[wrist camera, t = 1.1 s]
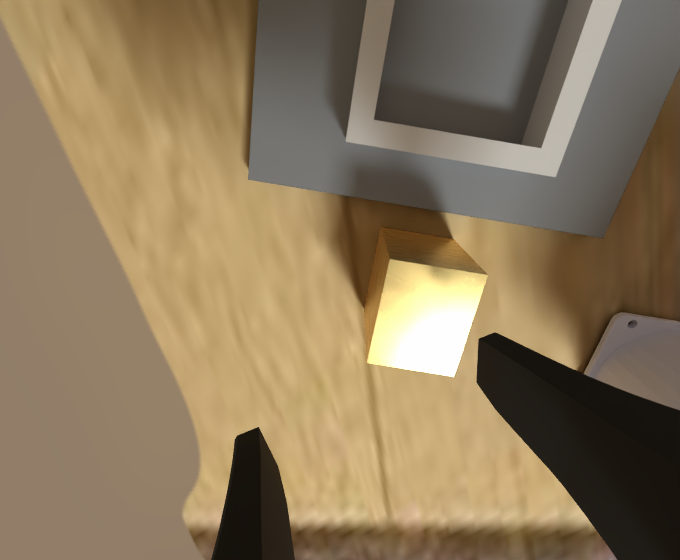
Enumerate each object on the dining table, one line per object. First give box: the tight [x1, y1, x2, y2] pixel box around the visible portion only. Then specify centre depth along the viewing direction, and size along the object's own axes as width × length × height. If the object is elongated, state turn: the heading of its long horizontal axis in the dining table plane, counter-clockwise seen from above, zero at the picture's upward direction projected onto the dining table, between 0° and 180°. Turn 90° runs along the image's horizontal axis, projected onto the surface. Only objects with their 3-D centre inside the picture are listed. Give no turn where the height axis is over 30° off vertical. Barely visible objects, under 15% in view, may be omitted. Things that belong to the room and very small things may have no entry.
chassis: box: [248, 0, 680, 238], centre depth 15 cm, size 18×14×3 cm
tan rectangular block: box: [364, 227, 488, 377], centre depth 18 cm, size 4×5×6 cm
